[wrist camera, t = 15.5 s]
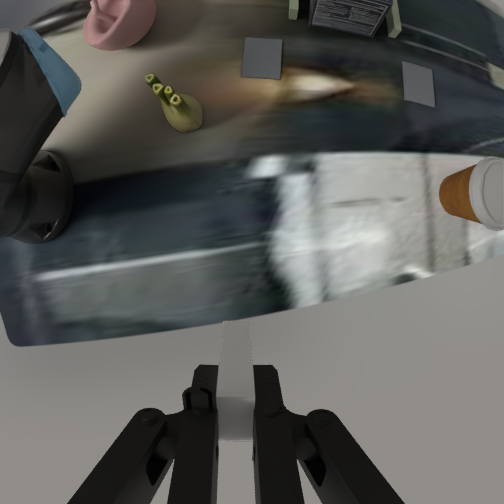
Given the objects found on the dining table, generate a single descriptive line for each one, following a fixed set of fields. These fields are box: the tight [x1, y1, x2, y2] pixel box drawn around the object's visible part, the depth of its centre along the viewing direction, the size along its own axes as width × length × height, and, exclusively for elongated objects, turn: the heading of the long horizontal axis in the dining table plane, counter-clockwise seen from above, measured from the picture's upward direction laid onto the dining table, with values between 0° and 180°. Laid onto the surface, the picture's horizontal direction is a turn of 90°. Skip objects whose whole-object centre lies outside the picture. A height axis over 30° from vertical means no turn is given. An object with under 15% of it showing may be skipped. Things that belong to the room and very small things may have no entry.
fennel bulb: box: [145, 73, 203, 133], centre depth 36 cm, size 6×5×12 cm
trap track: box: [241, 0, 435, 108], centre depth 38 cm, size 30×24×3 cm
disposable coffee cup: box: [439, 156, 504, 231], centre depth 36 cm, size 10×10×12 cm
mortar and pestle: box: [83, 0, 156, 51], centre depth 34 cm, size 12×12×12 cm
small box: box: [308, 0, 394, 38], centre depth 34 cm, size 11×6×10 cm, turn 84°
